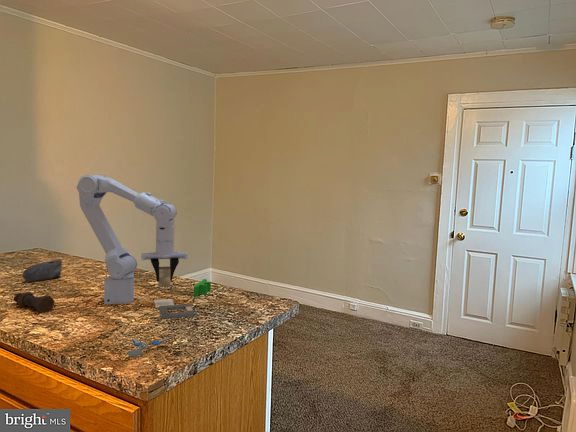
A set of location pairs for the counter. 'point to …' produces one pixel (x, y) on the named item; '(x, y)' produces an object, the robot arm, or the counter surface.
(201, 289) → the pipe clamp
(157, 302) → the white rectangular plate
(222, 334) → the counter surface
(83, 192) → the robot arm
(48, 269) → the perforated stone tool
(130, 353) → the key chain
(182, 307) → the plate
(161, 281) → the birch peg
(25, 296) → the dark brown elongated lump
